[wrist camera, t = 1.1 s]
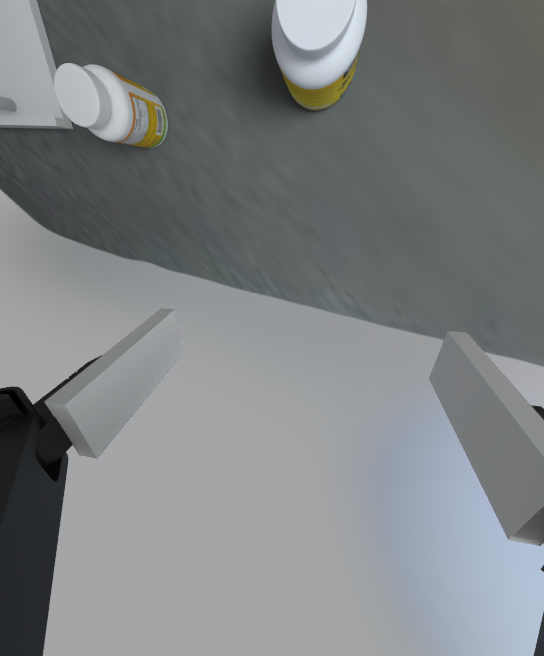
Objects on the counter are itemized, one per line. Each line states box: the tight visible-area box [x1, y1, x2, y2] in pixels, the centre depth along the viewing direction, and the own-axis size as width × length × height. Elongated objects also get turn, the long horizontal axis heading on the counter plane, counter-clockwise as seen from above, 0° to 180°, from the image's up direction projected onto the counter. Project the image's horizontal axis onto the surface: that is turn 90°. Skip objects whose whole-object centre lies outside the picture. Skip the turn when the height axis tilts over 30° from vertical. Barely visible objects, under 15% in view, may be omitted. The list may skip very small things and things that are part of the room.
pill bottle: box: [272, 0, 367, 111], centre depth 19 cm, size 6×6×12 cm
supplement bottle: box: [54, 63, 168, 148], centre depth 25 cm, size 5×5×10 cm
